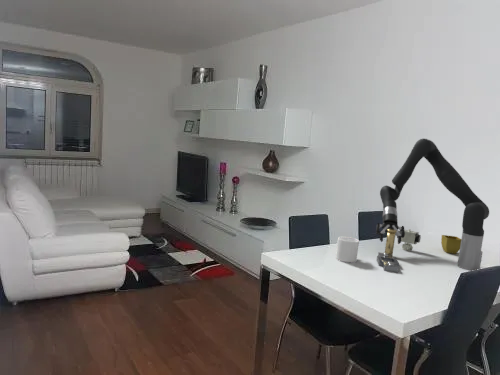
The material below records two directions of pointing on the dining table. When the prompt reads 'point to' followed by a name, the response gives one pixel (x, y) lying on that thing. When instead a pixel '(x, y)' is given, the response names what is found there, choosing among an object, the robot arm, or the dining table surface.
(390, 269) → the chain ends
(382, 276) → the dining table surface
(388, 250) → the brass pin
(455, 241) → the flower pot
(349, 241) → the mug
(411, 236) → the pneumatic valve
